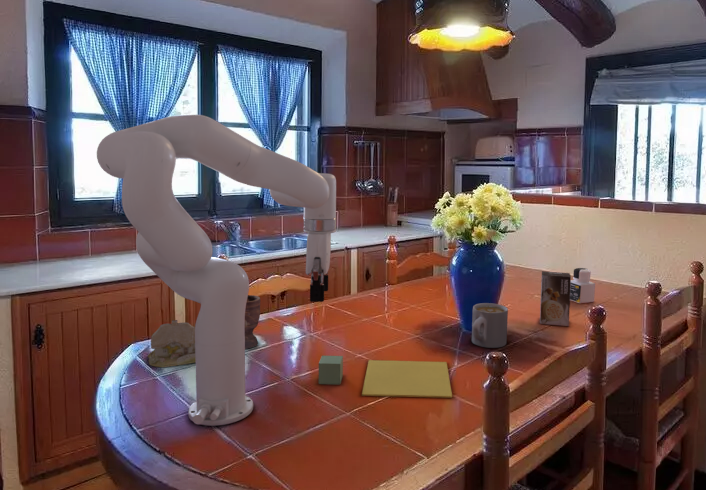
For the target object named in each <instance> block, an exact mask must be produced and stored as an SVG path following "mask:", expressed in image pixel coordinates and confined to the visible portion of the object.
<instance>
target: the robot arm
mask: <svg viewBox="0 0 706 490" xmlns="http://www.w3.org/2000/svg"><path fill="white" fill-rule="evenodd" d="M179 159H180V160H192V161H195V162H197V163H200V164H201V165H204V166H205V167H207V168H210V169H212V170H214V171H216V172H218V173H219V174H222V175H223V176H225V177H228V178H229V179H231V180H233V181H234V182H238V183H240V184H243V185H247V186H250V187H255V188H261V189H266V190H268V191H269V195H270V197H271V198H272V200H274V201H275V202H276V203H277V204H279V205H282V206H287V207H297V208H303V233H306V234H307V236H306V237H307V238H306V252H305V254H306V255H305V257H306V258H305V259H306V260H305V274H306V275H307V276H310V284H309V302H311V303H323V302H325V292H328V291H329V275H328V274H329V273H328V272H329V270H330V264H331V254H332V253H331V252H332V251H331V249H332V247H331V246H332V234H333V233H337V179H336V176H335V175H334V174H332V173H325V172H324V173H323V172H317V171H315V170H314V169H313V168H311V167H309V166H307V165H306V164H304V163H302V162H300V161H298V160H295V159H293V158H290V157H288V156H285V155H283V154H280V153H278V152H276V151H273V150H271V149H268V148H265V147H263V146H260V145H258V144H256V143H255V142H253V141H251V140H249V139H248V138H247V137H244V136H242V135H241V134H239V133H237V132H236V131H235V130H233V129H230V128H229V127H227V126H226V125H223V124H222V123H220V122H219V121H217V120H215V119H214V118H212V117H209V116H206V115H203V114H176V115H171V116H166V117H163V118H159V119H156V120H153V121H149V122H146V123H145V122H144V123H142V124H138V125H136V126H131V127H127V128H124V129H119V130H116V131H113V132H111V133H109V134H107V135H106V136H105V137H104V138H102V139H101V141H100V142H99V144H98V146H97V149H96V160H97V164H99V167H100V168H101V170H103V171H104V172H105V173H106V174H108V175H109V176H111V177H114V178H116V179H122V184H121V205H122V210H123V212H124V215H125V217H126V219H127V220H128V221H129V223H130V225H132V226H133V228H134V229H135V230H136V231H137V235H136V238H135V247H136V251H137V254H138V255H139V256H138V257H140V259H141V261H142V262H143V263H144V264H145V265H146V266H147V267H148V268H149V269H150V270H151V271H152V272H153V273H154V274H155V275H156V276H157V277H158V278H159V279H160V280H161V281H162V282H163V283H164V284H165V285H166V286H167V287H169V289H171V290H172V291H173V292H174V293H175V294H177V295H178V296H179V297H181V298H183V299H186V300H189V301H192V302H196V303H198V304H200V309H199V311H198V313H197V314H198V315H197V317H196V320H195V325H194V327H195V358H196V362H195V394H196V395H195V396H196V398H195V399H196V401H194V402H192V404H191V405H190V406H189V408H188V409H187V412H188V413H187V414H188V415H187V416H188V418H189V420H190V421H192V422H193V423H194V424H195V425H202V426H209V427H210V426H211V427H213V426H224V425H229V424H234V423H236V422H240V421H241V420H243V419H245V418H246V417H248V416H249V415H250V414H251V413H252V412H253V410H254V401H253V399H252V398H251V397H250V396H248V395H246V349H245V309H246V302H247V297H248V295H249V291H250V280H249V276H248V273H247V272H246V271H245V269H244V268H243V267H242V266H241V265H239V264H238V263H236V262H234V261H231V260H228V259H224V258H220V257H214V256H213V254H214V253H213V251H214V250H213V244H212V240H211V238H210V237H209V236H208V234H207V233H206V232H205V230H204V229H203V228H202V227H201V226H200V225H199V224H198V223H197V222H196V220H195V219H194V218H193V217H192V216H191V214H189V212H187V210H186V209H185V208H184V207H183V206H182V205H181V203H180V201H178V199H177V198H176V196H175V193H174V191H173V177H174V173H175V168H176V162H177V160H179Z"/></svg>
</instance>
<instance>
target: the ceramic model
mask: <svg viewBox="0 0 706 490" xmlns="http://www.w3.org/2000/svg"><path fill="white" fill-rule="evenodd" d="M150 349H151V350H152V351H151V352H149V353H148V354H147V358H148V364H149V365H150V366H152V367H157V368H167V367H168V368H169V367H176V366H183V365H189V364H196V358H195V325H194V326H193V325H191V323H189V322H187V321H185V322H179V320H178V319H175V320H172V321H171V323H163V324H160V326H159V327H158V328H157V329H156V331H154V333H152V335H151V338H150Z"/></svg>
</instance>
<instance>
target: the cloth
mask: <svg viewBox="0 0 706 490" xmlns="http://www.w3.org/2000/svg"><path fill="white" fill-rule="evenodd" d="M367 361H368V362H367V367H366V372H365V377H364V381H363V386H362V391H361V396H363V397H365V396H366V397H400V398H401V397H406V398H407V397H408V398H442V399H443V398H446V399H453V393H452V387H451V381H450V375H449V374H450V373H449V369H448V368H449V367H448V362H447V361H422V360H421V361H419V360H418V361H417V360H380V359H377V360H376V359H368V360H367Z"/></svg>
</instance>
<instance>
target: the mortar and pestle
mask: <svg viewBox="0 0 706 490" xmlns="http://www.w3.org/2000/svg"><path fill="white" fill-rule="evenodd" d="M260 317H261V297H260V296H258V295H252V294H248V297H247V302H246V309H245V350H247V349H251V348H254V347H257V346H258V345H259V341H258V338H257V337H256V335H255V334H254V330H255V329H256V328H257V327H258V325H259V323H260Z"/></svg>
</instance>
